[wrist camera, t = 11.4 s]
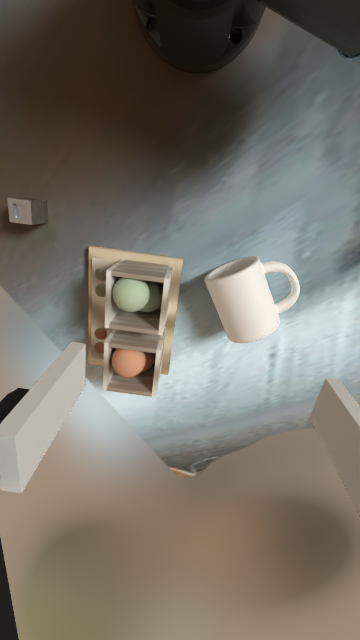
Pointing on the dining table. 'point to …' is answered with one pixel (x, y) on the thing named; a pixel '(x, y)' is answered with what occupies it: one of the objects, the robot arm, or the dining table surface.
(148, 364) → the ball terracotta in tube
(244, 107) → the dining table surface
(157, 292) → the ball sage lower
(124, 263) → the rack
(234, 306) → the mug
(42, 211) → the post
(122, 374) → the ball terracotta
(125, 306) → the ball sage upper
